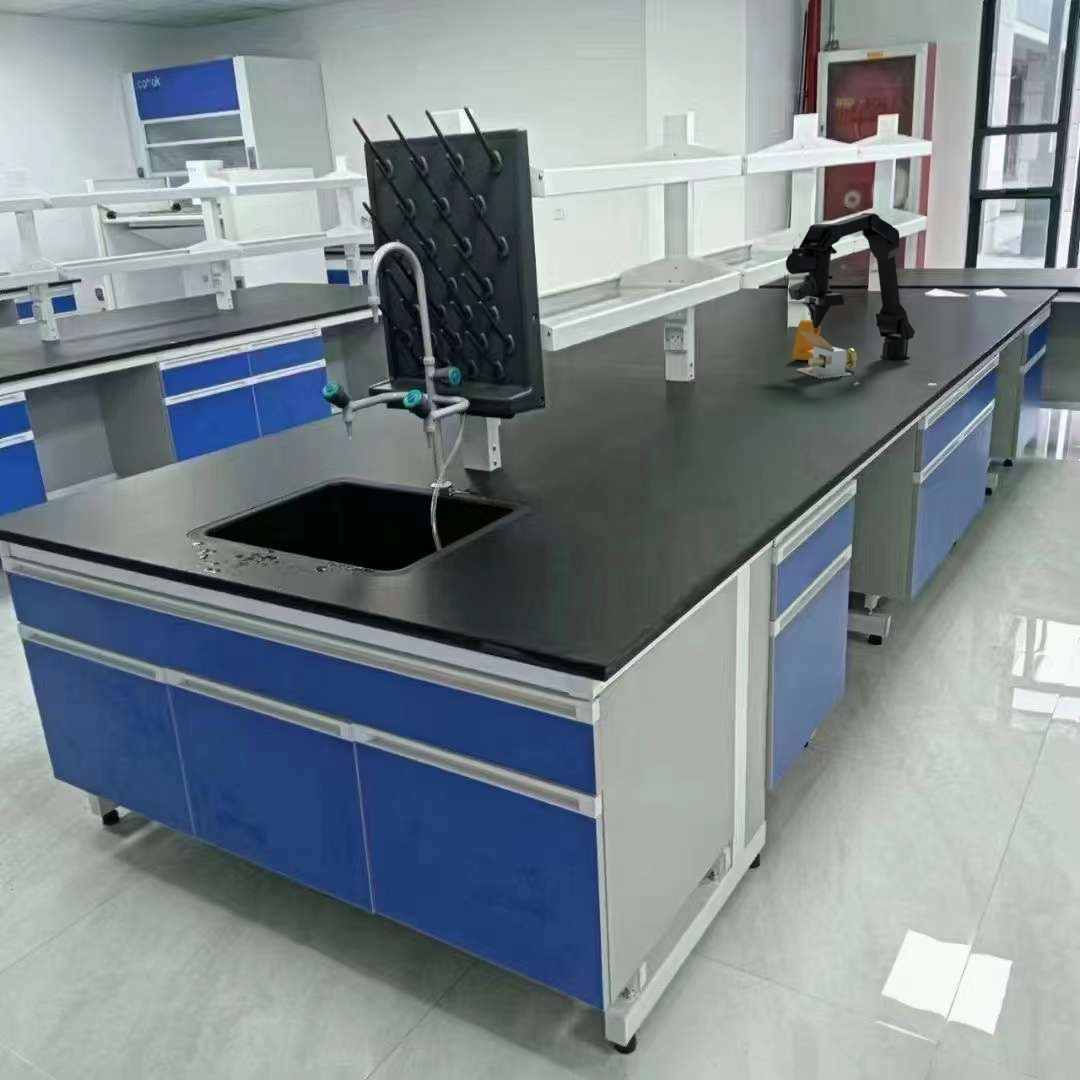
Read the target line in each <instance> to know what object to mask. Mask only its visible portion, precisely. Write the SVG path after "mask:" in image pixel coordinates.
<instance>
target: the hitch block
mask: <svg viewBox="0 0 1080 1080" xmlns="http://www.w3.org/2000/svg"><path fill="white" fill-rule="evenodd" d="M831 346H832V345H831ZM832 347H833V349H834V351H833V352H831V351H828V350H825V349H821V348H818V347H815V346H814V351H813V358H817V357H826V364H825V365H822V366H813V367H810V366H808V367H801V368H797V369H796V371H797V372H800V373H803V374H805V375H808V376H810V377H813V376H814V378H816V377H817V379H819V378H820V379H819V380H823V378H824V379H831V377H833V378H840V376H842V377H850V376H852V375H853V374H852V372H849V371H846V366H845V365H846V349H843V348H839V347H836V346H832Z"/></svg>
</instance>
